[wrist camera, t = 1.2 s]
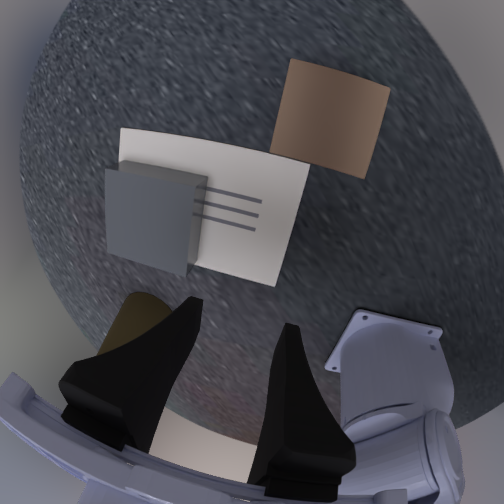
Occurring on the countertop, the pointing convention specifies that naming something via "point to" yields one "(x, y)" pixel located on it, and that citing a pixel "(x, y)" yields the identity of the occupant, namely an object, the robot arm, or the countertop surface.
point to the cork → (134, 319)
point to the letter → (231, 198)
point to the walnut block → (329, 118)
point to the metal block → (154, 215)
